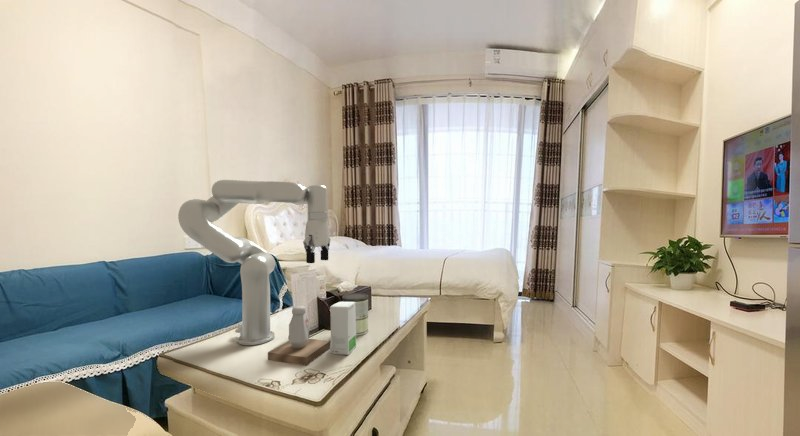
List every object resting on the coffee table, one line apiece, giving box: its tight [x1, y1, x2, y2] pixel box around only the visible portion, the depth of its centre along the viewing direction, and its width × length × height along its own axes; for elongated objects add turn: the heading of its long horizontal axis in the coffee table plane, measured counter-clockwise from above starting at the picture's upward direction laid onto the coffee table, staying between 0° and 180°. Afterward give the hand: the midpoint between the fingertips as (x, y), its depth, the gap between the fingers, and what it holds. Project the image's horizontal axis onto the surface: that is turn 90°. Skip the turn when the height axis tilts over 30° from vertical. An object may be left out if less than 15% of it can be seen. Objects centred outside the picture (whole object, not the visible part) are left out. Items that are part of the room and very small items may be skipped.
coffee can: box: [341, 292, 369, 337], centre depth 125 cm, size 10×10×14 cm
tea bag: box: [288, 312, 310, 341], centre depth 117 cm, size 4×7×10 cm, turn 160°
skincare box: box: [329, 301, 357, 356], centre depth 106 cm, size 8×7×16 cm
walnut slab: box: [267, 338, 331, 367], centre depth 103 cm, size 14×14×2 cm
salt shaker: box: [288, 305, 309, 349], centre depth 103 cm, size 6×6×13 cm
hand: (317, 261), depth 121 cm, fingers open, 9 cm apart
